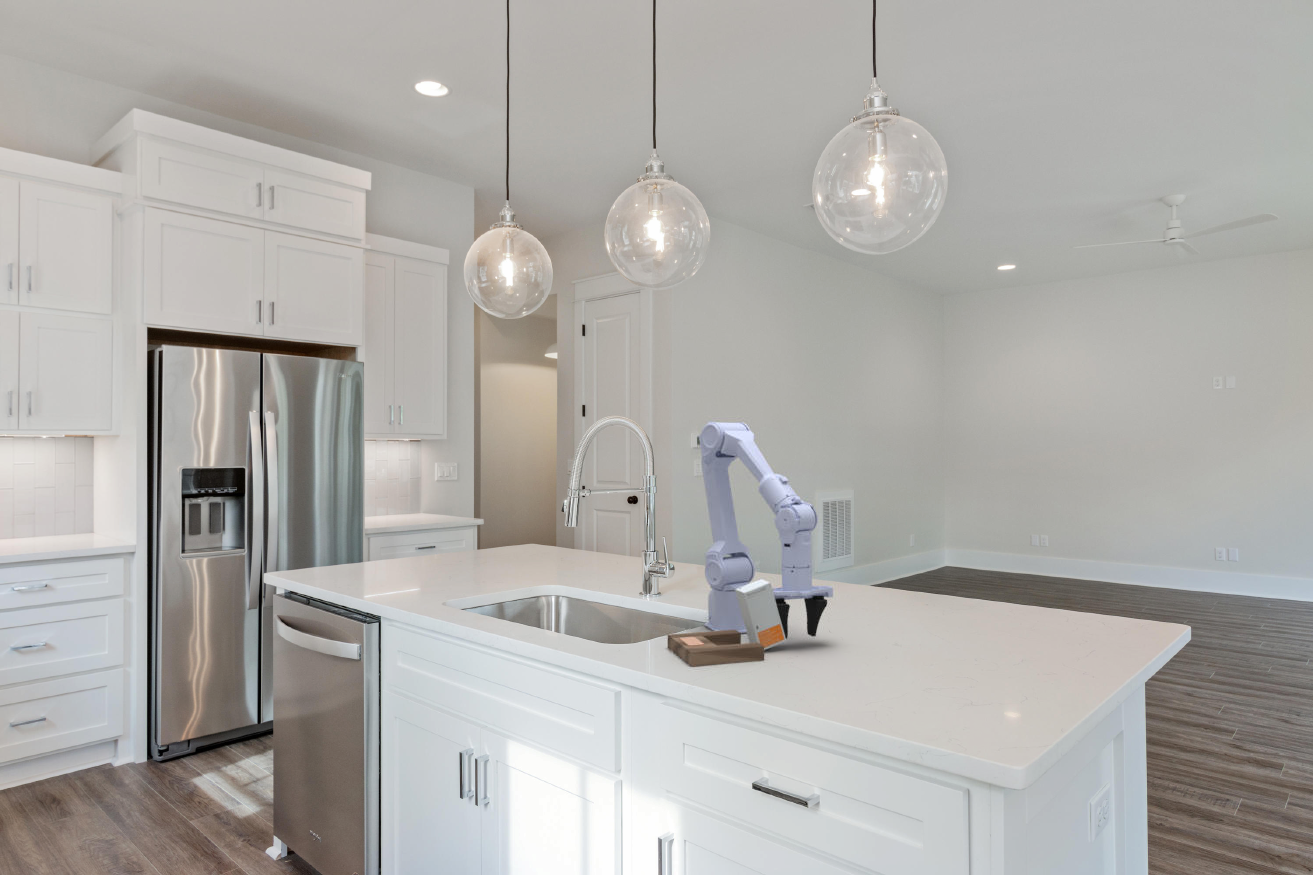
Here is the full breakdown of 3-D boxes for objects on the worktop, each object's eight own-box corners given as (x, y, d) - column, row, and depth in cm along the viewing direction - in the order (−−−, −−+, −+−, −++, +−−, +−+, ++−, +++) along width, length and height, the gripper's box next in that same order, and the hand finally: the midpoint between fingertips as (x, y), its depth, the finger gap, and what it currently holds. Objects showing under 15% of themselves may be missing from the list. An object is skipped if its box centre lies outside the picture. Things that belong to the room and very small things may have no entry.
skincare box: (760, 653, 146) (742, 593, 145) (750, 647, 150) (733, 589, 149) (788, 641, 148) (770, 581, 147) (778, 636, 152) (761, 578, 151)
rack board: (667, 647, 151) (667, 633, 151) (735, 642, 155) (734, 628, 155) (691, 666, 137) (691, 651, 137) (764, 660, 141) (764, 645, 141)
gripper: (771, 570, 145) (772, 644, 145) (840, 566, 149) (841, 638, 149) (755, 565, 152) (756, 635, 152) (822, 562, 156) (823, 630, 156)
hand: (797, 636), depth 151 cm, fingers open, 5 cm apart
